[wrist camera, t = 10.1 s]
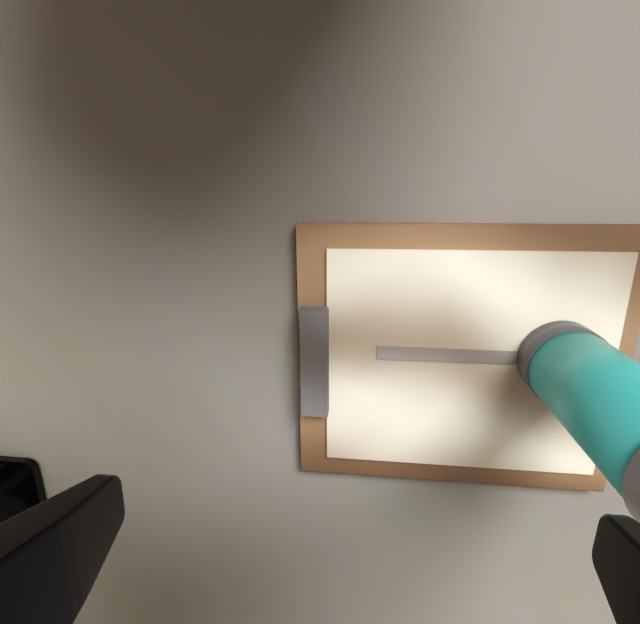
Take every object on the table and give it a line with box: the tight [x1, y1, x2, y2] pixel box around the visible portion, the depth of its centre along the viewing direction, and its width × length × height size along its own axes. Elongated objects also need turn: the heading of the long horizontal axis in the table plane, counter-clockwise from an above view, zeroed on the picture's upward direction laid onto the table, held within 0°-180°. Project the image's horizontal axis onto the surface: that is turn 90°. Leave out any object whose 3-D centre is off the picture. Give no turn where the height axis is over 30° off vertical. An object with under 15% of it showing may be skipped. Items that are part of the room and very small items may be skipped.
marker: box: [517, 320, 640, 523], centre depth 13 cm, size 3×3×10 cm
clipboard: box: [296, 223, 640, 492], centre depth 19 cm, size 12×14×1 cm
